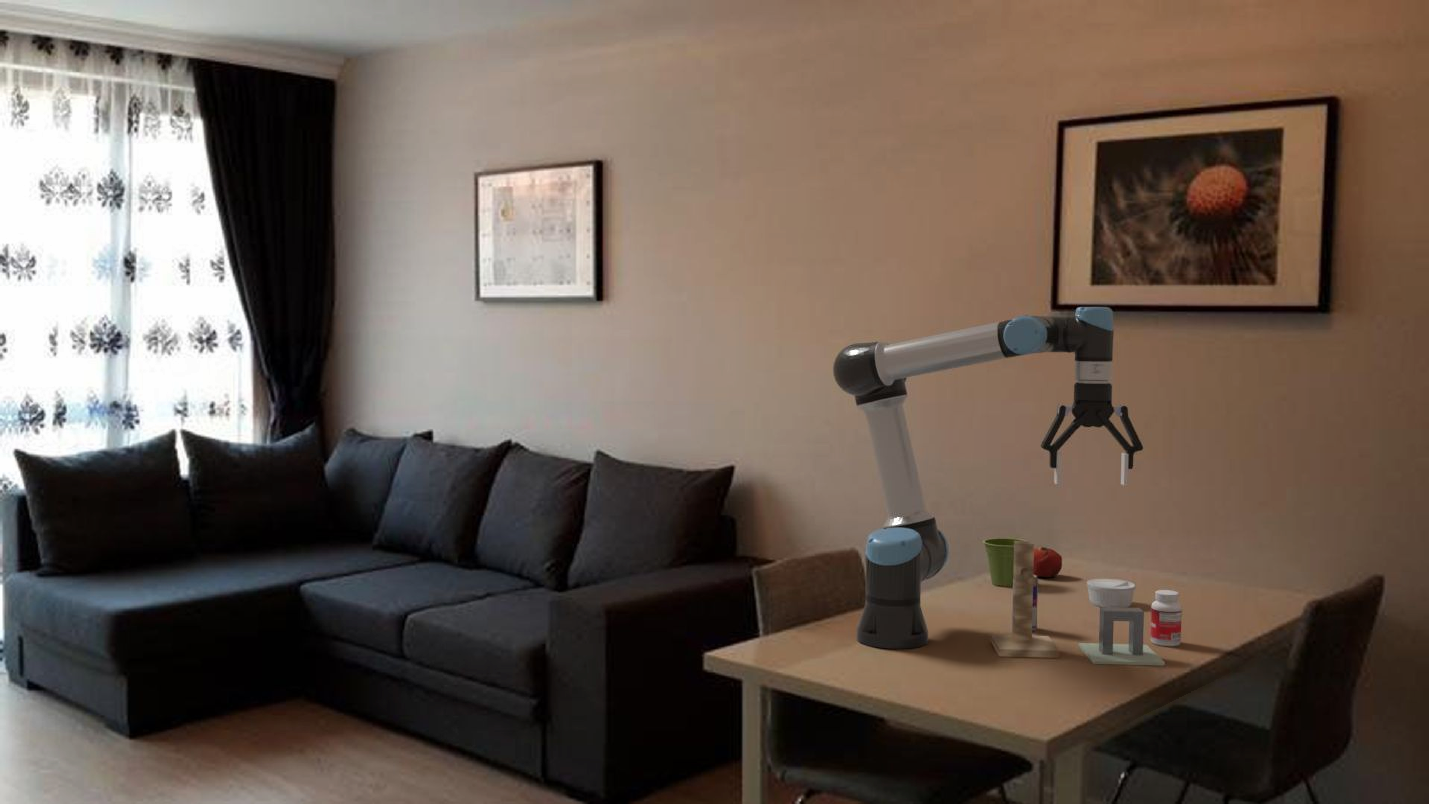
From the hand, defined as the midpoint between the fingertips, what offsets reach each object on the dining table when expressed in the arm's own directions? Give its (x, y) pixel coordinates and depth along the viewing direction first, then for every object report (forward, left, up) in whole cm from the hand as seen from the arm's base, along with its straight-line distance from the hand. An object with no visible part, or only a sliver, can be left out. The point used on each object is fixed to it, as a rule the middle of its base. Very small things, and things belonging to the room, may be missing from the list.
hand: (1090, 484), depth 264 cm
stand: (-13, -2, -35) cm, 37 cm away
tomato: (+5, +76, -35) cm, 84 cm away
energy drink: (-10, +17, -35) cm, 40 cm away
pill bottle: (+18, +7, -35) cm, 40 cm away
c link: (+6, -4, -34) cm, 35 cm away
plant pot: (-7, +65, -35) cm, 74 cm away
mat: (+6, -4, -35) cm, 35 cm away
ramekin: (+15, +44, -35) cm, 58 cm away
